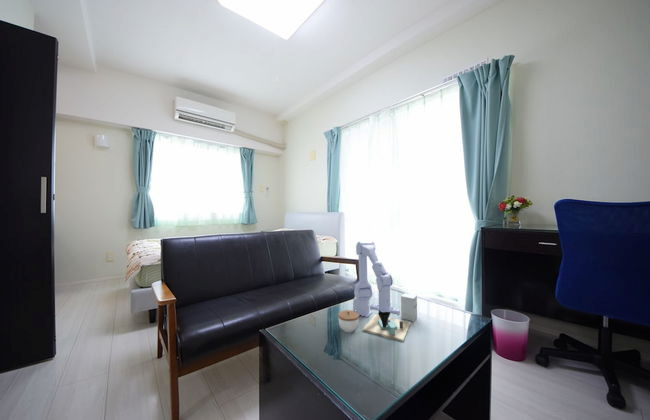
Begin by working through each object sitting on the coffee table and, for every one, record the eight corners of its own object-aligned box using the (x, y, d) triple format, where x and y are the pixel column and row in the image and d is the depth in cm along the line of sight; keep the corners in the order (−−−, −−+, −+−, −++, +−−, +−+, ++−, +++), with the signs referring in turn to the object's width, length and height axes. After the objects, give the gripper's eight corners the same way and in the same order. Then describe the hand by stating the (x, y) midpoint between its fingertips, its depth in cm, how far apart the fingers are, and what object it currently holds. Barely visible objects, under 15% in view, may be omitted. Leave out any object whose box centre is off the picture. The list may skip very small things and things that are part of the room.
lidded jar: (358, 335, 109) (358, 316, 110) (336, 333, 111) (336, 314, 112) (359, 325, 120) (359, 307, 120) (339, 323, 122) (339, 306, 122)
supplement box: (414, 321, 124) (413, 298, 124) (400, 318, 128) (400, 296, 129) (417, 317, 130) (417, 295, 130) (404, 313, 134) (404, 292, 135)
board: (362, 331, 114) (362, 323, 114) (374, 316, 131) (374, 309, 131) (403, 341, 104) (403, 333, 104) (410, 324, 121) (410, 316, 121)
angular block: (377, 321, 121) (377, 315, 122) (392, 321, 122) (392, 315, 122) (384, 334, 108) (384, 327, 108) (401, 334, 108) (401, 327, 108)
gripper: (367, 298, 111) (368, 326, 111) (397, 304, 104) (398, 333, 104) (372, 294, 117) (372, 320, 117) (400, 299, 110) (401, 327, 110)
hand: (384, 326), depth 111 cm, fingers closed
